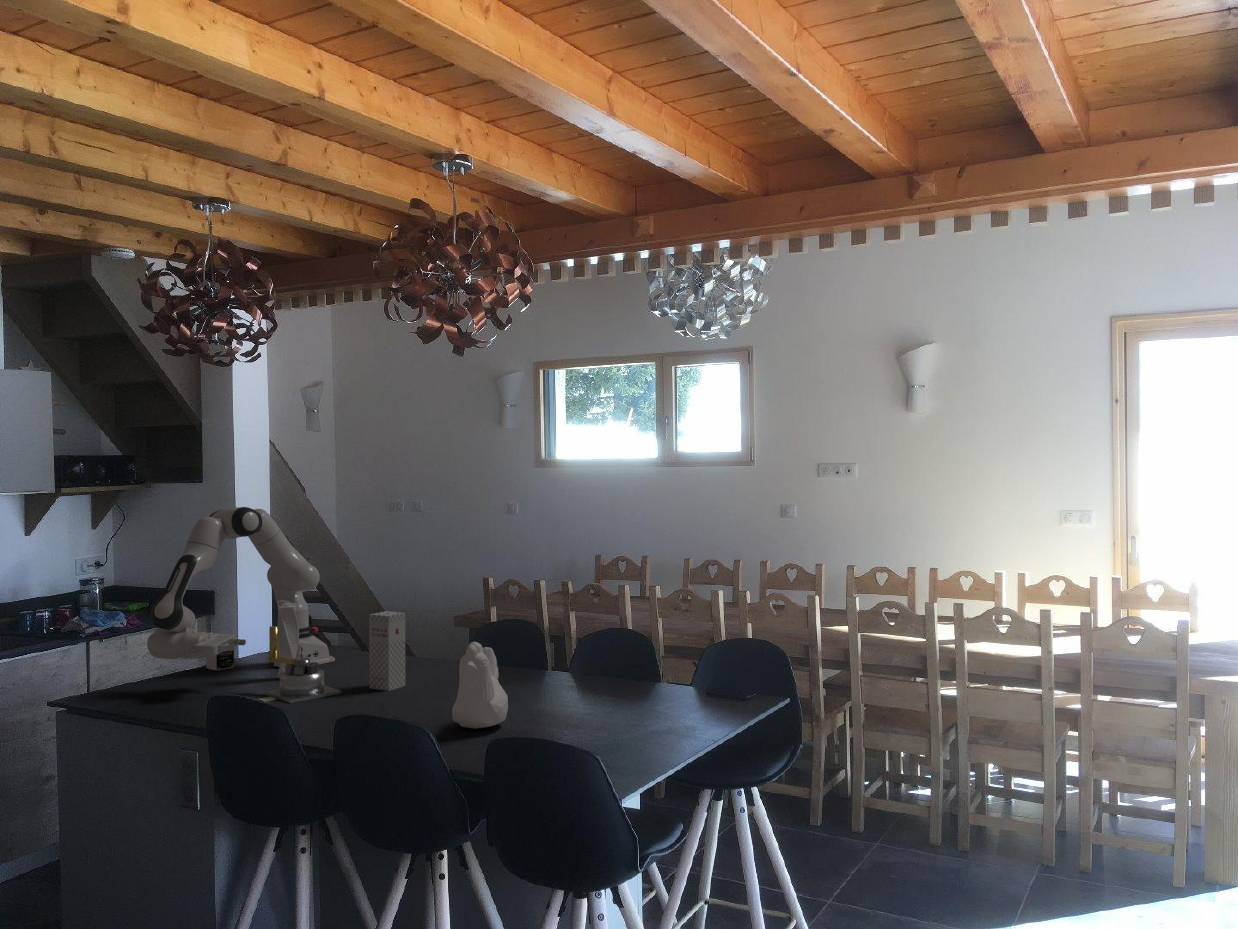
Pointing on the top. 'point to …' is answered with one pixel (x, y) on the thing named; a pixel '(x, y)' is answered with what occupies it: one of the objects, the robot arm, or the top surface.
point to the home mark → (267, 699)
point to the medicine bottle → (221, 661)
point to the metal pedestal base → (301, 687)
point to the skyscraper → (288, 633)
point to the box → (386, 650)
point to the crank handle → (293, 664)
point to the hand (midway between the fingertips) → (240, 645)
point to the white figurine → (479, 690)
